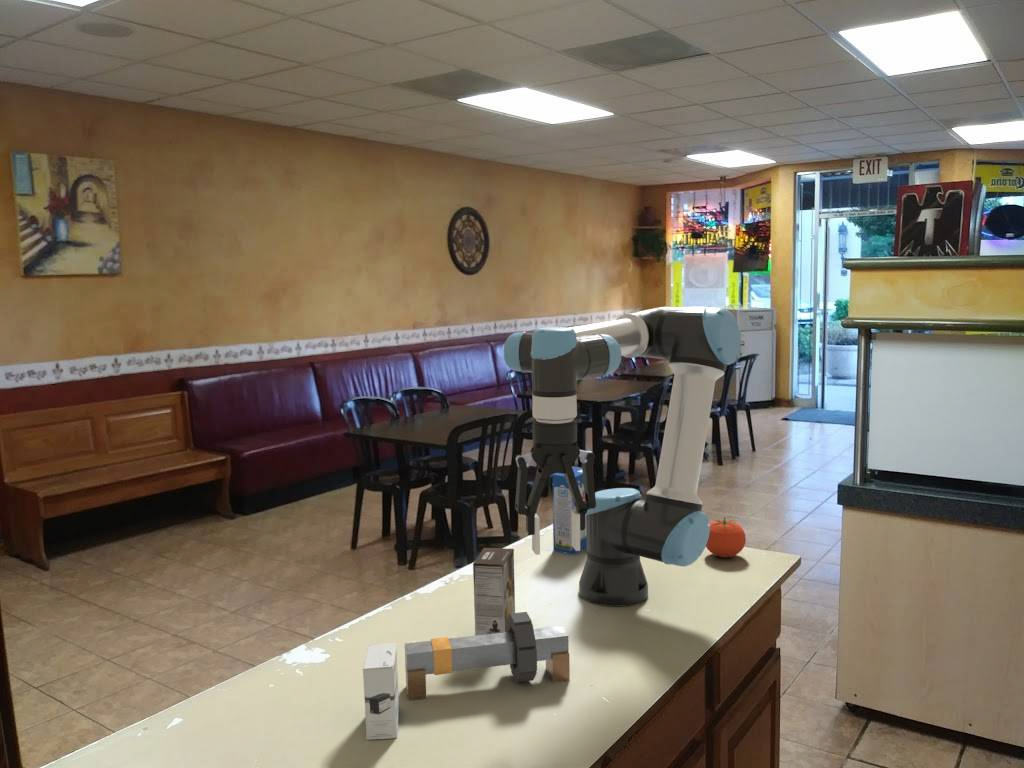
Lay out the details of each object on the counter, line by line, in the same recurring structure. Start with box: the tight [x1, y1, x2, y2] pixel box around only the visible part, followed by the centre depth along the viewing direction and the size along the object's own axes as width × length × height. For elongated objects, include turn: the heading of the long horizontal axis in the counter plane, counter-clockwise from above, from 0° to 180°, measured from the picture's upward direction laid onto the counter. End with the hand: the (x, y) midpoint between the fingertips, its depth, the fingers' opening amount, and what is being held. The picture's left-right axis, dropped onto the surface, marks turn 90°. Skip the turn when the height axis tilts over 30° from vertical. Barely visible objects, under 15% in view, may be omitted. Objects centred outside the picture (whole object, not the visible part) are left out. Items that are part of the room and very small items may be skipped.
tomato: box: [705, 517, 747, 558], centre depth 198 cm, size 10×10×10 cm
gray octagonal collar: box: [506, 611, 538, 683], centre depth 140 cm, size 3×11×11 cm, turn 12°
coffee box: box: [472, 547, 516, 636], centre depth 158 cm, size 9×6×16 cm
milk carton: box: [552, 465, 587, 555], centre depth 206 cm, size 10×6×20 cm, turn 145°
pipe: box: [404, 625, 571, 701], centre depth 139 cm, size 28×5×8 cm, turn 102°
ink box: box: [362, 642, 400, 741], centre depth 127 cm, size 8×5×12 cm, turn 5°
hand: (556, 549), depth 139 cm, fingers open, 6 cm apart
